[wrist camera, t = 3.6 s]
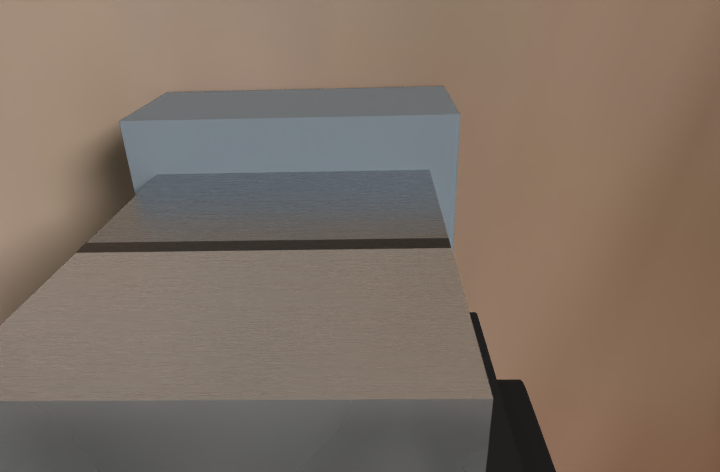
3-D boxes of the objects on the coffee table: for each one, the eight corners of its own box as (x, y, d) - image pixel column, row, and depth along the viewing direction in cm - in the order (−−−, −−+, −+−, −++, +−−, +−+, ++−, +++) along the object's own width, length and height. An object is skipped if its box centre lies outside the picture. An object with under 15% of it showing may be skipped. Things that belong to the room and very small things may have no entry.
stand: (166, 92, 12) (119, 121, 10) (444, 86, 12) (460, 114, 10) (227, 433, 16) (204, 506, 14) (430, 432, 16) (438, 507, 14)
